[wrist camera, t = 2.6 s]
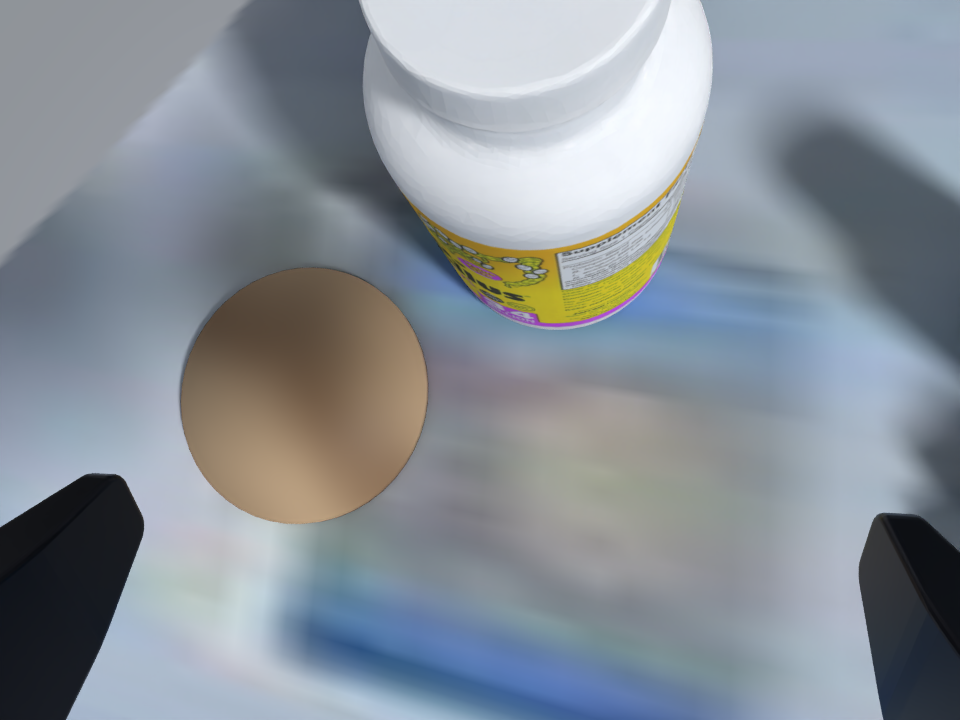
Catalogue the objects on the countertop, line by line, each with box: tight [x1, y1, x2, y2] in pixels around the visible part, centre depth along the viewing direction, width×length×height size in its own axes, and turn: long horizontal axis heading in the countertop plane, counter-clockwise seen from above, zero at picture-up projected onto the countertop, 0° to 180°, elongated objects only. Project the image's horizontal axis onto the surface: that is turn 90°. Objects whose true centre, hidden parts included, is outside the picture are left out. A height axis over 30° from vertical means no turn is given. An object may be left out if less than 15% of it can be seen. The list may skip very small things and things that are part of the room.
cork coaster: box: [181, 268, 428, 524], centre depth 24 cm, size 8×8×1 cm
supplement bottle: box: [359, 0, 713, 330], centre depth 17 cm, size 7×7×13 cm
